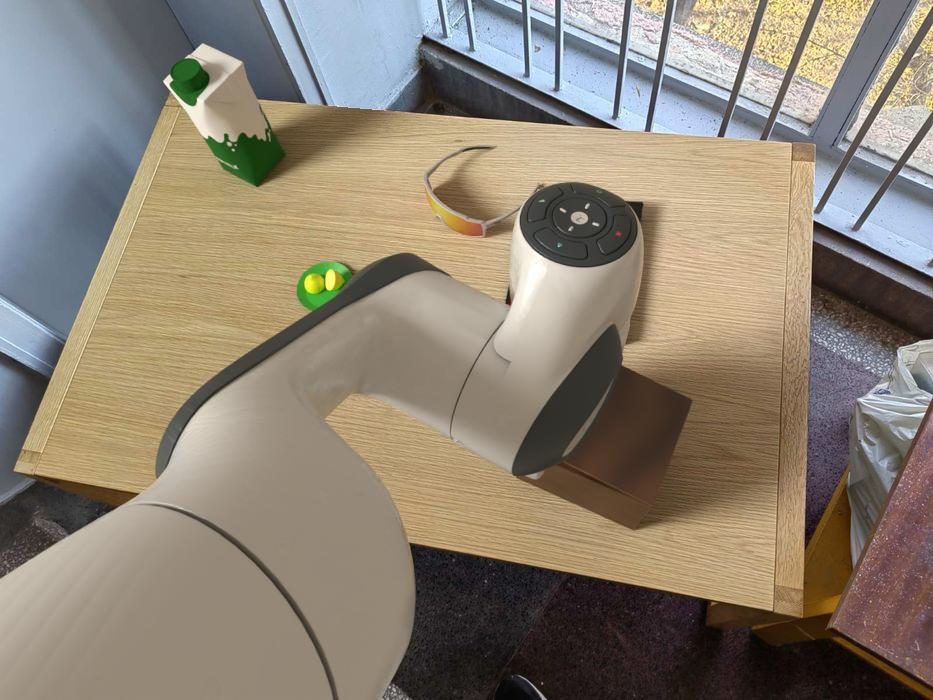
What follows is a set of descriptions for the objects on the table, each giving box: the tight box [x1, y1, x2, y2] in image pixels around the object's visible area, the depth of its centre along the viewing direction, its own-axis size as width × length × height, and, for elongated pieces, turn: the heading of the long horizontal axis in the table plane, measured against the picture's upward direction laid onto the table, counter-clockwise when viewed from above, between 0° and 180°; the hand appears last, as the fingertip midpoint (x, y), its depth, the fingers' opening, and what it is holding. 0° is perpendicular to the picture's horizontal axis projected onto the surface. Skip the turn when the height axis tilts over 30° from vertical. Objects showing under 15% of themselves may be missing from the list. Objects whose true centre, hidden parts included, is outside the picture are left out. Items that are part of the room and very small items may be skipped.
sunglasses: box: [423, 144, 541, 239], centre depth 97 cm, size 14×15×5 cm
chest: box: [515, 462, 653, 531], centre depth 75 cm, size 15×12×13 cm
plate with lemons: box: [296, 261, 354, 312], centre depth 93 cm, size 8×8×3 cm
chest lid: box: [563, 364, 694, 507], centre depth 67 cm, size 16×12×1 cm
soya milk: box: [162, 42, 286, 188], centre depth 96 cm, size 9×9×20 cm
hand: (563, 395), depth 67 cm, fingers closed, pressing on chest lid
